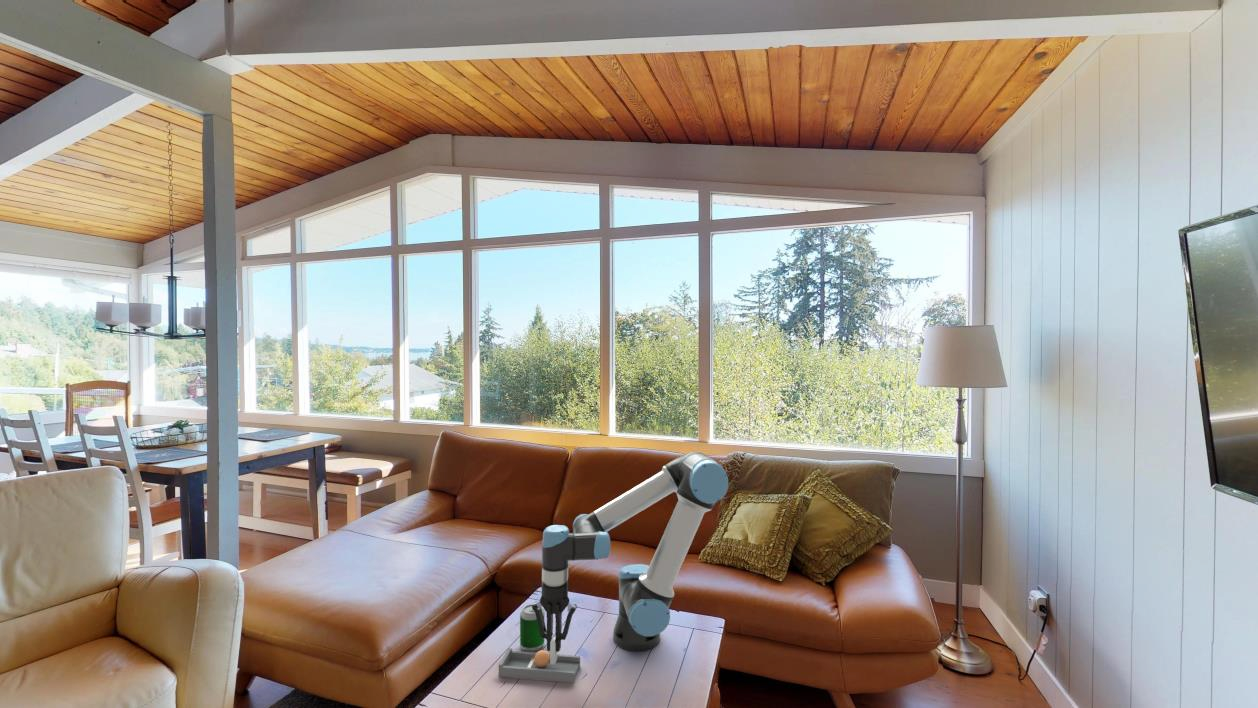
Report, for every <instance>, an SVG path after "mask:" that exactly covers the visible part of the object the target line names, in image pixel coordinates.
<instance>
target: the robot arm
mask: <svg viewBox="0 0 1258 708" xmlns="http://www.w3.org/2000/svg"><path fill="white" fill-rule="evenodd" d="M728 488H729V478H728V475H727V472H726V470H725V469H724V468H723V467H722V465H721V464H720V463H719V462H718V461H716V460H714V459H712V458H711V457H709V456H708V455H707V454H705V453H702V452H700V451H699V452H698V451H691V452H687V453H684V454H682V455H681V456H678V457H677V458H674V459H673V460H672V461H670V462H668V463H666V464H665V465H663V466H662V469H661V470H660V471H659V472H657V473H656V474H654V475H652V476H651V477H649V478H647V479H645V480H644V481H643V482H641V483H639V484H637V485H636V486H634V487H633V488H631V489H629V490H627V491H626V492H624V493H622V494H621V495H619V496H618V497H616V498H614V499H613V500H611V501H609V502H607V503H605V504H604V505H603V506H601V507H599V508H598V509H596V510H594V511H592V512H591V513H589V514H587V513H581V514H579V515H578V516H576V517H575V519H574V520H573V522H572V532H570V529H569V528H568V526H566V525H564V524H562V525H561V524H553V525H548V526H547V527H545V529H544V530H543V532H542V542H541V547H542V548H541V549H542V550H541V561H542V562H541V596H540V599H539V600H536V601H534V603H533V606H532V609H533V610H534V612H535V614H536V618H537V623H538V627H539V632H540V637H541V638H544V640H546V652H549V654H550V664H555V663H556V661H557V654H558V652H560V650H561V647H562V641H564V640H566V638H567V636H568V633H569V631H570V626H571V622H572V619H573V614H575V612H576V610H577V607H578V606H577V604H576V603H574V604H573V603H572V602H570V597H569V581H568V579H569V562H571V561H574V562H575V561H589V560H591V561H592V560H596V561H598V560H604V559H605V560H606V559H608V558H609V557H610V554H611V537H610V534H609V533H608V532H609V531H610V530H612V529H614V528H616V527H618V526H619V525H621V524H622V523H624V522H626V521H628V520H629V519H630V518H632V517H634V516H635V515H637V514H639V513H640V512H642V511H644V510H646V509H647V508H649V507H651V506H652V505H654V504H656V503H657V502H659V501H661V500H662V499H664V498H665V497H667V496H669V495H670V494H673V493H676V496H677V499H678V501H677V503H676V504H675V508H674V509H673V512H672V515H671V516H670V519H669V521H668V523H667V525H666V528H665V529H664V532H663V535H662V536H661V539H660V542H659V543H658V546H657V548H656V550H655V553H654V554H653V557H652V559H651V561H650V564H649V565H648V564H643V563H639V564H638V563H637V564H628V565H627V564H626V565H625V566H623V567H622V568H620V569H619V571H618V573H619V574H618V578H617V579H618V615H617V619H616V621H615V625H614V626H613V627H614V628H613V632H612V633H613V634H612V635H613V638H612V639H613V642H614V643H615V644H616V645H617V646H618V647H620V648H622V649H624V650H626V651H630V652H631V651H634V652H641V651H642V652H643V651H647V650H651V649H653V648H654V647H656V646H657V645H658V644H659V643H660V641H661V633H663V632H664V631H665V630H666V629H667V627H668V626H669V623H670V621H671V611H670V609H669V608H670V606H671V604H672V601H673V599H674V597H675V591H674V589H673V586H674V583H675V581H676V579H677V577H678V574H679V573H680V570H681V567H682V566H683V562H684V561H685V558H686V556H687V554H688V552H689V549H690V547H691V545H692V543H693V540H694V537H695V536H696V534H697V531H698V529H699V526H700V525H701V522H702V520H703V517H704V515H705V514H706V513H707V512H710V511H712V510H713V508H714V507H715V506H714V505H715V504H716V503H717V502H718V501H720V500H722V499H723V498H724V496H725V495H726V494H727V491H728ZM541 607H542V608H543V609H544V612H545V613H546V621H545V616H544V617H543V612H542V608H541ZM566 608H567V612H568V613H567V615H566V619H565V623H564V626H563V631H562V624H563V623H562V622H563V621H562V619H563V618H562V616H563V615H562V614H563V612H564V611H565V610H566ZM554 617H555V629H554ZM554 630H555V633H554ZM554 634H555V635H554ZM553 635H554V636H553Z"/></svg>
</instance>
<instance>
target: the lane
mask: <svg viewBox="0 0 1258 708" xmlns="http://www.w3.org/2000/svg"><path fill="white" fill-rule="evenodd" d="M536 653H537V652H535V651H534V652H528V651H519V650H513V649H512V648H511V647H509V648H508V649H507V650H506V651H505V653H504V655H503V657H502V658H501V660H500V662H499V663H498V677H499V678H510V679H511V678H513V679H521V680H522V679H524V680H532V681H533V680H536V681H548V682H559V683H570V684H575V682H576V679H577V676H578V672H579V670H580V668H581V655H571V654H558V653H557V661H556V663H555V664H550V660H549V663H548V664H547V665H546V666H545V667H542V668H540V667H538V666H537V665H536V664H535V662H534V657H535V655H536ZM548 654H549V657H550V653H548Z"/></svg>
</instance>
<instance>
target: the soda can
mask: <svg viewBox="0 0 1258 708" xmlns="http://www.w3.org/2000/svg"><path fill="white" fill-rule="evenodd" d="M533 604H534V603H533ZM533 604H532V603H531V604H527V605H526V606H524V607H522V609H521V610H520V612H519V614H520V615H519V622H520V623H519V639H520V640H519V645H520V647H521V648H522V649H523V650H524V652H534V653H535V652H538V651H540V650H541V648H542V647H543V646H544V645H545V638H541V637H540V632H539V627H538V623H537V618H536V614H535V612H534V610H533V609H532V606H533ZM541 608H542V612H543V617H544V618H545V609H544V608H543V606H542V607H541Z"/></svg>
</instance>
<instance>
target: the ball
mask: <svg viewBox="0 0 1258 708" xmlns="http://www.w3.org/2000/svg"><path fill="white" fill-rule="evenodd" d="M535 653H536V655H535V657H534V662H535V664H536V665H537V666H538V667H540V668H542V667H545V666H546V665H547V664H548V663H549V660H550V657H549V654H550V653H549V651H547V650H543V649H540V650H537V651H536V652H535Z"/></svg>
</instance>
